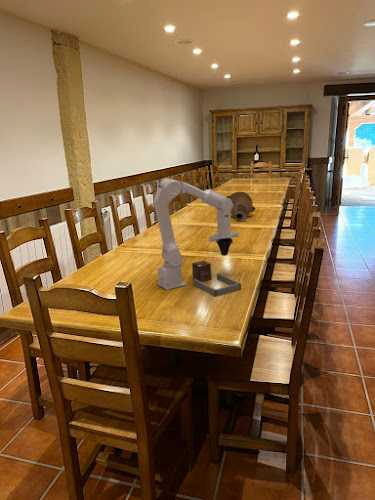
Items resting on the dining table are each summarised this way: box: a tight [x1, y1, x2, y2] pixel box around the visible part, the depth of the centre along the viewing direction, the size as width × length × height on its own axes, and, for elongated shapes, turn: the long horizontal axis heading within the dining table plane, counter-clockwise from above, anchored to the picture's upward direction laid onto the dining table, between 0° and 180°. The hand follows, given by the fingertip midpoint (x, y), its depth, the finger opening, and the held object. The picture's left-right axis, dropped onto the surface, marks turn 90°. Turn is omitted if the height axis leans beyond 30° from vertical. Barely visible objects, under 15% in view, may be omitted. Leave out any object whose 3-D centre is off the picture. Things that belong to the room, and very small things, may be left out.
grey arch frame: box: [193, 272, 242, 297], centre depth 154 cm, size 13×15×2 cm
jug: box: [225, 191, 256, 223], centre depth 283 cm, size 20×20×30 cm
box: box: [191, 260, 212, 283], centre depth 163 cm, size 6×6×7 cm
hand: (224, 255), depth 165 cm, fingers closed
